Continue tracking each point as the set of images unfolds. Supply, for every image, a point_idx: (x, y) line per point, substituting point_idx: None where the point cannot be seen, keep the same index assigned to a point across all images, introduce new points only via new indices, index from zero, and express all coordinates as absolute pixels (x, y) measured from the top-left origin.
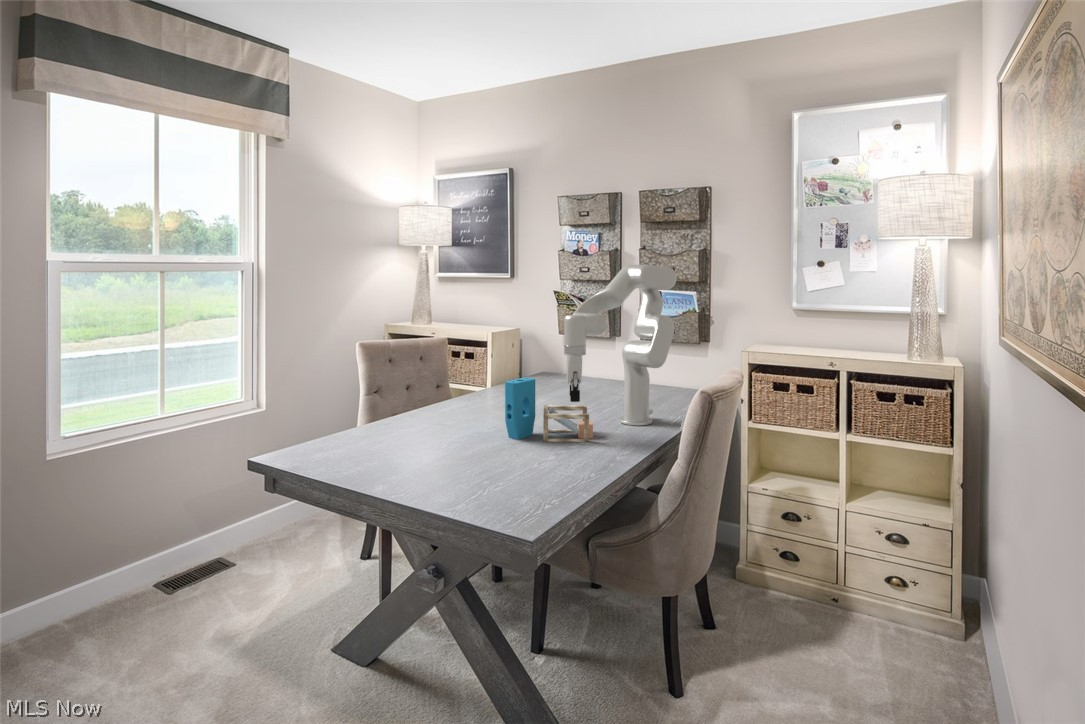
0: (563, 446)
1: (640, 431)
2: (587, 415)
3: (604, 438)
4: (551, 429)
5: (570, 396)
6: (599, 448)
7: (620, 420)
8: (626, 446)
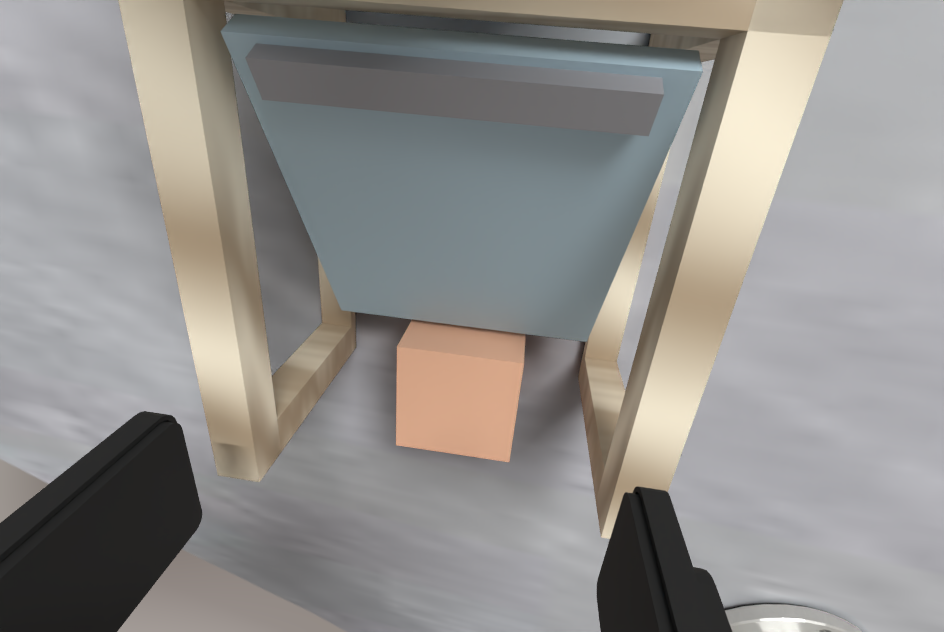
0: None
1: (550, 621)
2: (221, 458)
3: None
4: None
5: (68, 469)
6: None
7: (784, 615)
8: (258, 496)
